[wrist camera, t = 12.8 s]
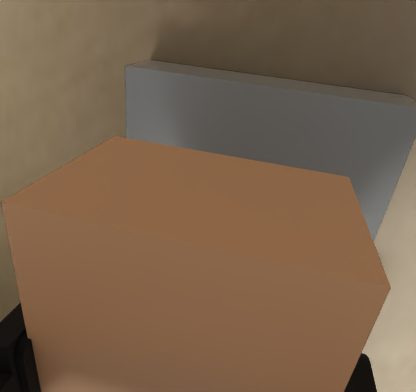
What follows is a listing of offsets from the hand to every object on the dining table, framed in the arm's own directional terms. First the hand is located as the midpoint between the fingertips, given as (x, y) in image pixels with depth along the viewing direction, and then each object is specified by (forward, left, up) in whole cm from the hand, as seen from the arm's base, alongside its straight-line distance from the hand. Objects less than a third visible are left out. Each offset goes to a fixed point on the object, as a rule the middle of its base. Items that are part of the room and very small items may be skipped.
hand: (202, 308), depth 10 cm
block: (0, +1, -1) cm, 1 cm away
